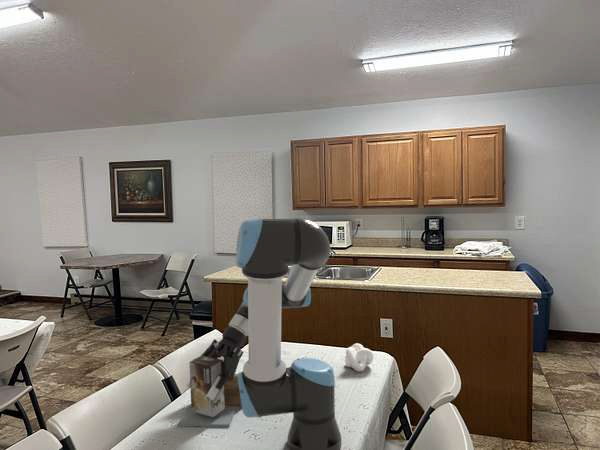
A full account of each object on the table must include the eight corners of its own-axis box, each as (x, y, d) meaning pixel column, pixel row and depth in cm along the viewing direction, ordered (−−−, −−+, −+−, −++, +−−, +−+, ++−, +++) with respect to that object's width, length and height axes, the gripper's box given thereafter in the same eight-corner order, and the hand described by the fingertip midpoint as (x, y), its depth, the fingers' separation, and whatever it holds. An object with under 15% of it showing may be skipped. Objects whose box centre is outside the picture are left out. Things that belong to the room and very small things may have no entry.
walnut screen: (248, 405, 140) (247, 376, 139) (192, 405, 141) (191, 376, 140) (249, 402, 142) (248, 373, 141) (194, 402, 143) (193, 373, 142)
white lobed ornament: (365, 376, 161) (365, 354, 161) (337, 370, 167) (337, 348, 167) (376, 366, 171) (375, 345, 170) (349, 361, 177) (349, 340, 177)
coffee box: (225, 408, 133) (224, 359, 132) (212, 417, 127) (211, 366, 126) (203, 402, 137) (202, 354, 136) (190, 411, 132) (188, 361, 131)
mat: (229, 426, 127) (229, 424, 126) (177, 426, 127) (177, 424, 127) (236, 409, 138) (236, 406, 137) (188, 408, 138) (188, 406, 138)
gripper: (266, 344, 135) (229, 409, 124) (223, 330, 150) (186, 387, 139) (253, 332, 131) (213, 398, 120) (210, 319, 146) (172, 377, 135)
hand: (199, 392), depth 130 cm, fingers closed on coffee box, 10 cm apart
